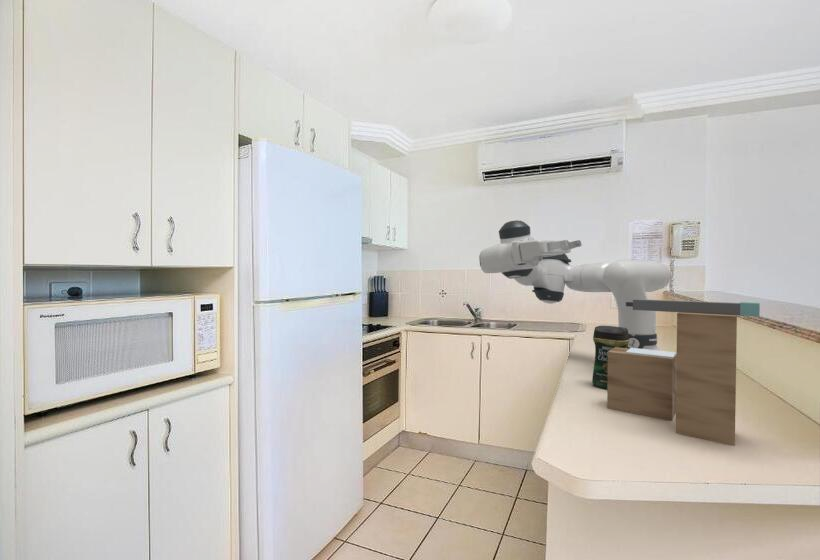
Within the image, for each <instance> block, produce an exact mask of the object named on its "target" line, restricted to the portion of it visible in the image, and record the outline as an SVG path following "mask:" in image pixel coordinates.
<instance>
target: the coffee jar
mask: <svg viewBox="0 0 820 560" xmlns="http://www.w3.org/2000/svg"><path fill="white" fill-rule="evenodd" d="M592 340H593V343H594V348H595V354H594V355H595V356H594V363H593V371H592V380H591V381H592V385H593V386H595V387H598V388H601V389H606V390H607V384H608V351H610V350H611V349H613V348H615V347H618V348H627V346H628V344H629V333H628V329H627V328H622V327H619V326H613V325H597V326H595V327H594V330H593V335H592Z"/></svg>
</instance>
